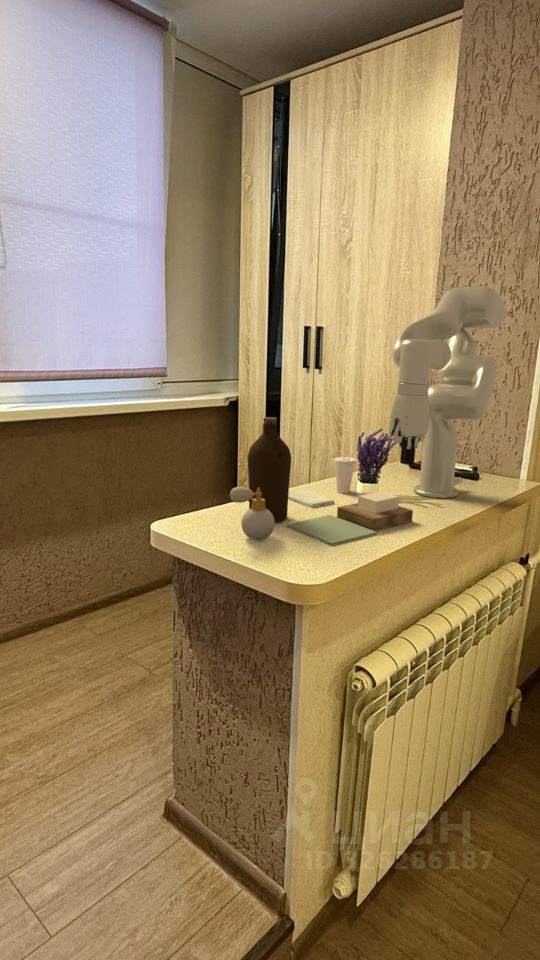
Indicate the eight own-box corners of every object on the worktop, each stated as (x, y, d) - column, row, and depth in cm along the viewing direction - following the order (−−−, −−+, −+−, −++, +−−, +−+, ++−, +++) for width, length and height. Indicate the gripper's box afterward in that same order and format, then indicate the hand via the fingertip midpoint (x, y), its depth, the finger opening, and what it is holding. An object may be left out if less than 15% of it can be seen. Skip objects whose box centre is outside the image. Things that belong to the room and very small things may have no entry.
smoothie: (327, 491, 176) (329, 444, 172) (340, 487, 180) (343, 441, 177) (345, 495, 172) (348, 447, 168) (358, 491, 176) (361, 444, 173)
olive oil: (297, 516, 151) (300, 417, 145) (275, 527, 142) (278, 422, 136) (261, 509, 156) (262, 413, 150) (238, 519, 147) (239, 418, 141)
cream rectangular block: (380, 502, 153) (380, 491, 153) (398, 508, 149) (398, 496, 148) (357, 507, 149) (358, 495, 148) (375, 513, 144) (376, 501, 143)
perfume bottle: (281, 539, 134) (282, 487, 131) (245, 548, 128) (245, 493, 125) (261, 530, 139) (262, 480, 137) (226, 538, 134) (226, 486, 131)
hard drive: (282, 493, 168) (311, 503, 158) (305, 489, 173) (334, 499, 163) (282, 499, 168) (311, 510, 159) (305, 495, 173) (334, 505, 163)
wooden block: (376, 510, 158) (377, 499, 157) (411, 521, 148) (412, 510, 148) (337, 518, 150) (337, 507, 149) (372, 531, 140) (372, 519, 139)
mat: (330, 517, 151) (330, 514, 151) (376, 534, 138) (376, 531, 138) (286, 526, 143) (286, 524, 142) (331, 545, 130) (331, 543, 130)
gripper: (421, 389, 155) (414, 459, 159) (380, 390, 146) (375, 463, 150) (444, 391, 149) (437, 464, 153) (404, 392, 140) (398, 469, 144)
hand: (407, 463), depth 152 cm, fingers closed
